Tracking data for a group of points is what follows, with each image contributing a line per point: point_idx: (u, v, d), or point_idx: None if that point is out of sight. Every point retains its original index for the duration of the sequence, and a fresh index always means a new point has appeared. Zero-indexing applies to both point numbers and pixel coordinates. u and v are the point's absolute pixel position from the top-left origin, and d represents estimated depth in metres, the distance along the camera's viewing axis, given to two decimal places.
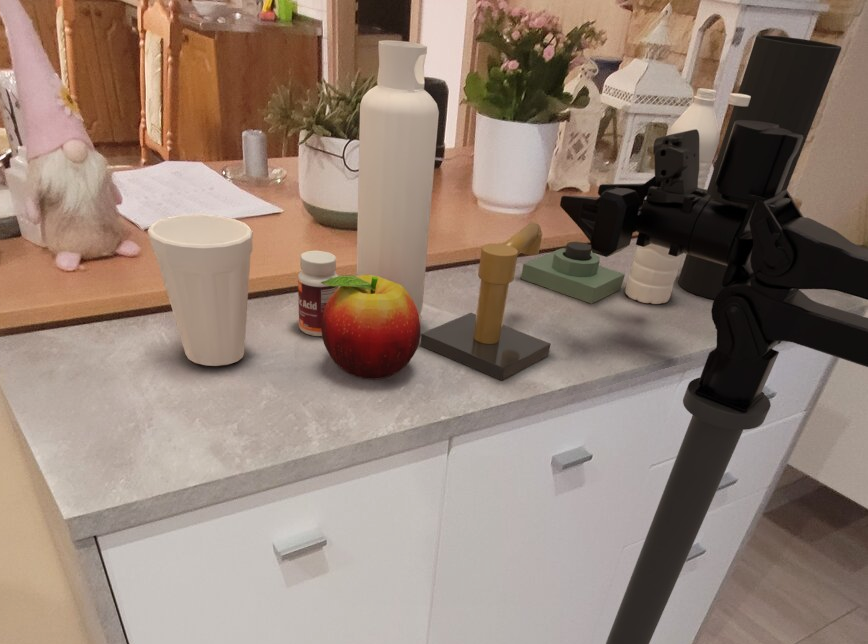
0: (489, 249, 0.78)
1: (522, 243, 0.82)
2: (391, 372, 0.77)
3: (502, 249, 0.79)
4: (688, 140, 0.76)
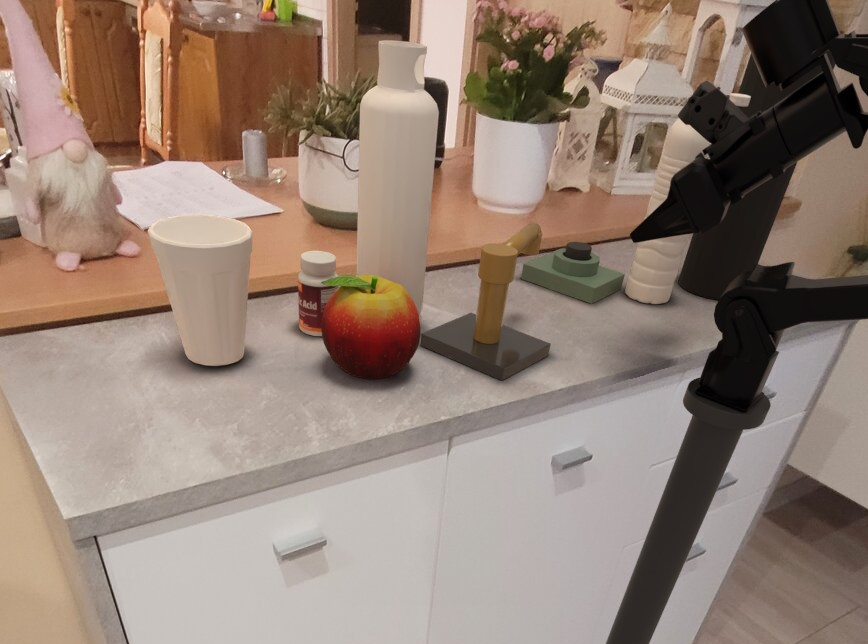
0: (489, 249, 0.78)
1: (522, 243, 0.82)
2: (391, 372, 0.77)
3: (502, 249, 0.79)
4: (708, 88, 0.71)
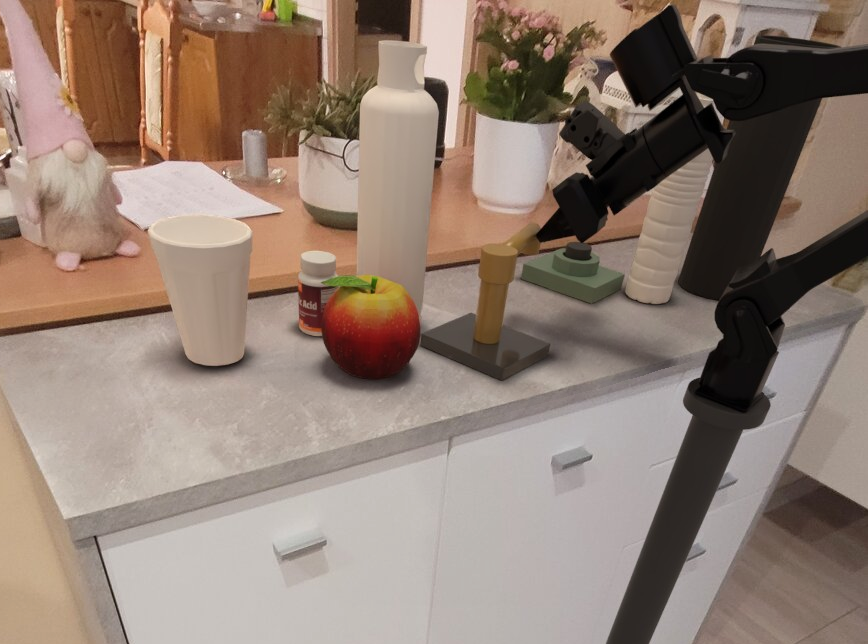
0: (489, 249, 0.78)
1: (522, 243, 0.82)
2: (391, 372, 0.77)
3: (502, 249, 0.79)
4: (586, 108, 0.76)
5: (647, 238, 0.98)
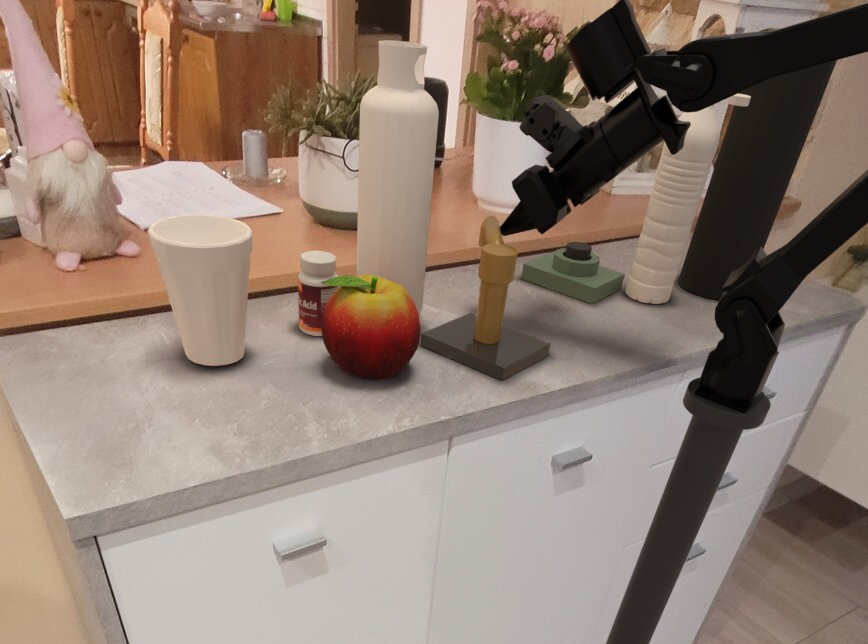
0: (492, 251, 0.78)
1: None
2: (391, 372, 0.77)
3: (501, 248, 0.79)
4: (544, 102, 0.77)
5: (647, 238, 0.98)
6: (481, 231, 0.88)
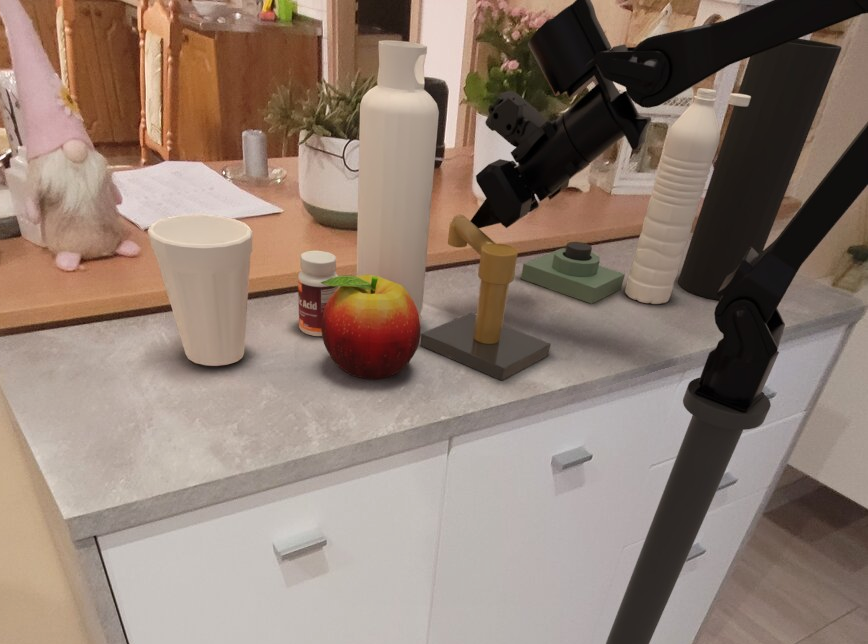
0: (495, 252, 0.78)
1: None
2: (391, 372, 0.77)
3: (500, 248, 0.79)
4: None
5: (647, 238, 0.98)
6: (452, 231, 0.87)
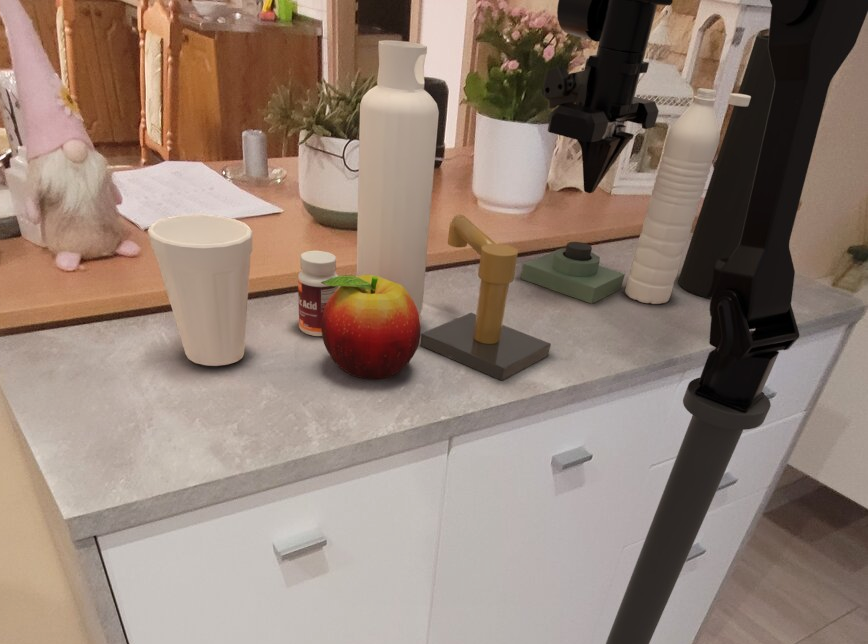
0: (495, 252, 0.78)
1: None
2: (391, 372, 0.77)
3: (500, 248, 0.79)
4: None
5: (647, 238, 0.98)
6: (452, 231, 0.87)
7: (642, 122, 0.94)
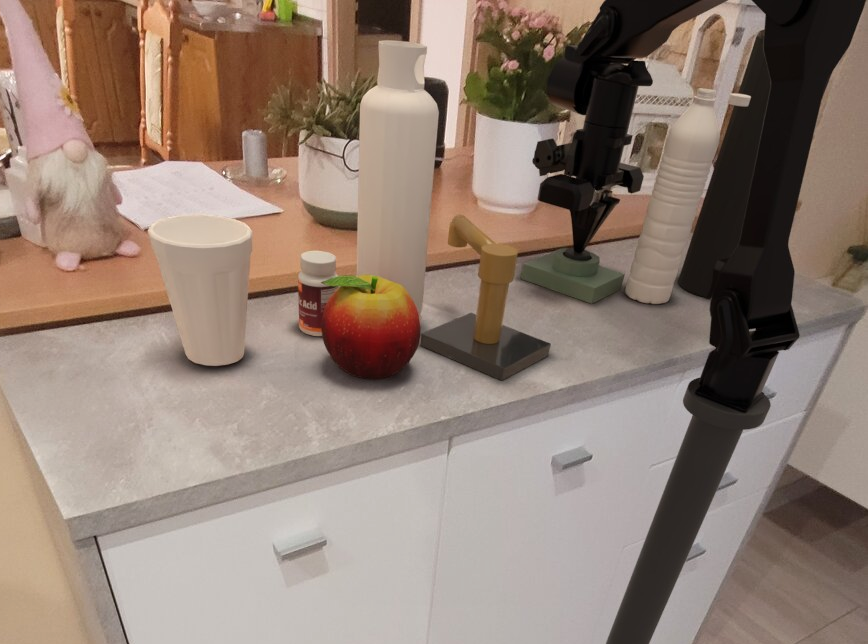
0: (495, 252, 0.78)
1: None
2: (391, 372, 0.77)
3: (500, 248, 0.79)
4: None
5: (647, 238, 0.98)
6: (452, 231, 0.87)
7: (628, 187, 0.99)
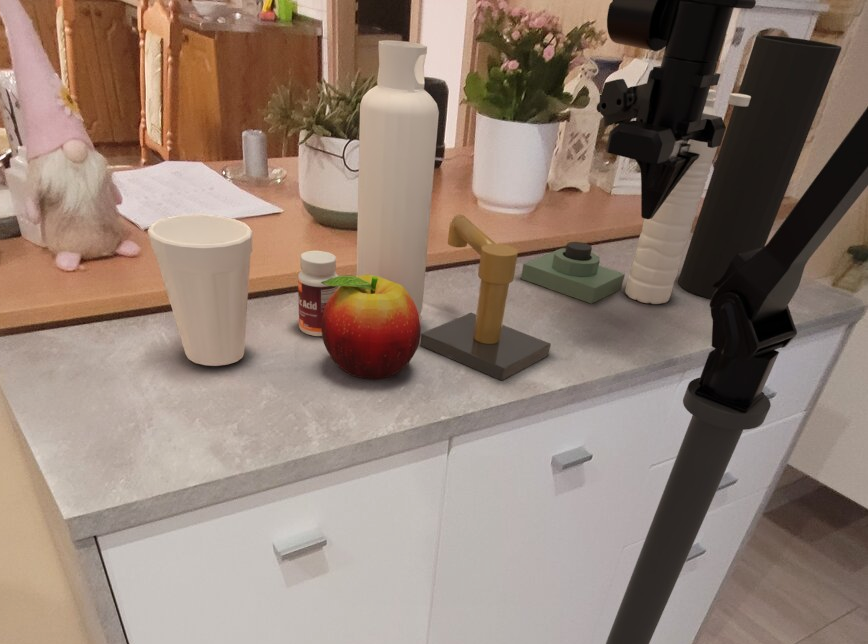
0: (495, 252, 0.78)
1: None
2: (391, 372, 0.77)
3: (500, 248, 0.79)
4: None
5: (647, 238, 0.98)
6: (452, 231, 0.87)
7: (708, 140, 0.84)
